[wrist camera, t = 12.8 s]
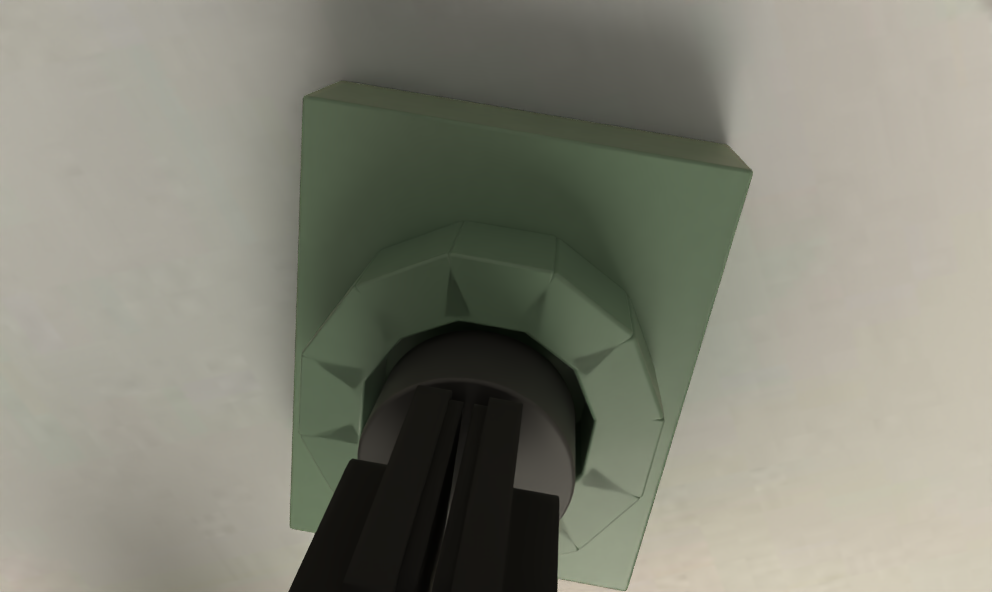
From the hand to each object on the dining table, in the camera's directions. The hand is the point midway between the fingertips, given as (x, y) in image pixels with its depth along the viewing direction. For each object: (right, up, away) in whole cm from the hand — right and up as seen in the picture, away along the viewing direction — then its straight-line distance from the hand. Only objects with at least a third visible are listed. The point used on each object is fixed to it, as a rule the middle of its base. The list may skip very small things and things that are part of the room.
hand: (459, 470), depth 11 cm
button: (0, +1, +2) cm, 2 cm away
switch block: (+1, +2, +5) cm, 6 cm away
